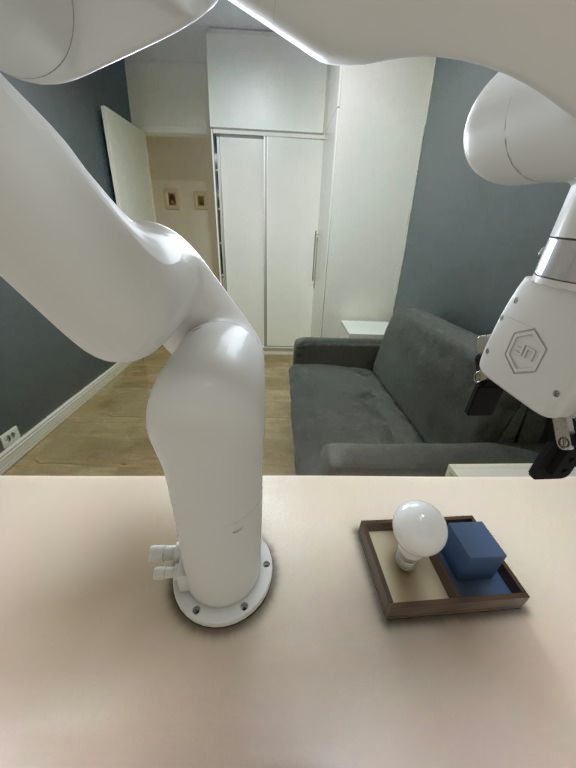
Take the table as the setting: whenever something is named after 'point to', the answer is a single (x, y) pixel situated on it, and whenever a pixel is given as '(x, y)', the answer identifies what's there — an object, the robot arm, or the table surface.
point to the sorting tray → (432, 579)
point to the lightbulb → (418, 532)
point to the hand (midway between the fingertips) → (506, 441)
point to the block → (472, 551)
